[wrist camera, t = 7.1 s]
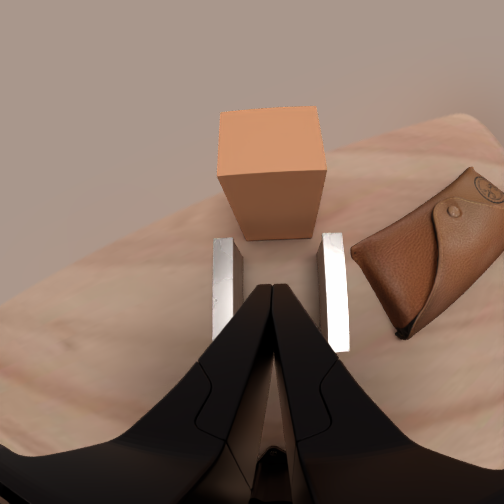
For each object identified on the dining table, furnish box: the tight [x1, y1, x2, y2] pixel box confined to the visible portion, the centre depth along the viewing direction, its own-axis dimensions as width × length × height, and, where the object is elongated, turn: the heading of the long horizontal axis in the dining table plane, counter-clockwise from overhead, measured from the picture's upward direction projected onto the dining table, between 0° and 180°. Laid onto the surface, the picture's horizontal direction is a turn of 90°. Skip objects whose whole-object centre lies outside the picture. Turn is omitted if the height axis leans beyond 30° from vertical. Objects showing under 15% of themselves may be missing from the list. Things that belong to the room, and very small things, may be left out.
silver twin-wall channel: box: [213, 233, 349, 352], centre depth 19 cm, size 7×8×5 cm
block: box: [217, 106, 327, 241], centre depth 18 cm, size 4×5×10 cm
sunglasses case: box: [351, 167, 504, 340], centre depth 20 cm, size 18×7×7 cm
